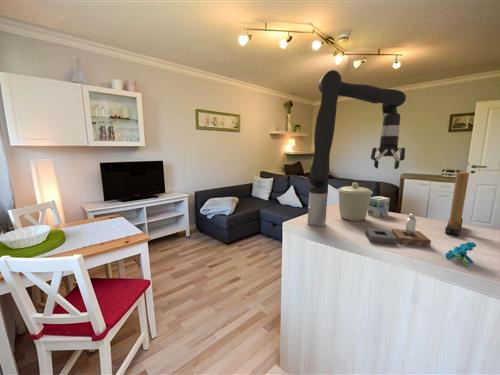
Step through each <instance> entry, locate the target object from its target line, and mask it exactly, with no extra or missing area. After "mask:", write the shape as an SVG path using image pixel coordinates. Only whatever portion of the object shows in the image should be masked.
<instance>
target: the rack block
mask: <svg viewBox="0 0 500 375" xmlns="http://www.w3.org/2000/svg"><path fill="white" fill-rule="evenodd" d="M390 231H391V232H392V233H393V234H394V236H395V237H396V238H397V243H398V245H401V246H402V245H404V246H410V247H411V246H413V247H422V248H431V243H432V240H431V239H430V238H428V237H427V236H426V235H424V234H423V233H422V232H421V231H419V230H415V234H414V237H413V236H405V232H406V229H400V228H399V229H397V228H391V230H390Z"/></svg>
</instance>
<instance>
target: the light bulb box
mask: <svg viewBox="0 0 500 375" xmlns="http://www.w3.org/2000/svg"><path fill="white" fill-rule="evenodd" d="M389 207H390V197H385V196H381V195H379V196H371V198H370V202H369V207H368V211H367V215H368V216H371V217H374V218H380V217H385V216H389V209H390V208H389Z"/></svg>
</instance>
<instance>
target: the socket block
mask: <svg viewBox="0 0 500 375" xmlns="http://www.w3.org/2000/svg"><path fill="white" fill-rule="evenodd" d="M364 232H365V233H364V235H365V236H366V238H367V240H368V242H369V243H370V244H380V245H390V246H397V243H398V242H397V238H396V237H395V236H394V234H393V233H392V232H391V230H390V229H389V230H388V229H379V228H367V227H365V231H364Z"/></svg>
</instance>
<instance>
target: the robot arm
mask: <svg viewBox="0 0 500 375" xmlns="http://www.w3.org/2000/svg"><path fill="white" fill-rule="evenodd" d="M317 87H318V90H319V92H320V93H321V99H320V100H321V101H320V106H319V108H318V109H319V110H318V112H317V116H316V120H315V126H314V132H313V133H314V134H313V136H314V138H313V140H314V142H313V145H314V152H313V159H312V164H311V165H310V168H309V184H308V185H309V186H308V187H309V189H308V190H309V193H308V207H307V208H308V209H307V225H310V226H314V227H324V226H326V222H327V204H328V193H329V192H328V191H329V188H328V187H329V185H328V182H329V181H328V178H329V175H330V158H331V156H330V155H331V149H332V145H333V141H334V136H335V135H334V134H335V127H336V119H337V118H336V116H337V104H338V100H339V97H344V98H345V97H347V98H350V99H354V100H359V101H363V102H366V103H370V104H375V105H377V104H381V109H382V116H383V117H382V118H383V119H382V127H381V130H380V131H381V132H380V139H379V140H380V141H379V146H378V147H372V150H371V154H370V159H371V160H372V161H374V164H373V167H374V168H375V169H379V160H380V159H382V157H392V158H393V159H394V160H395V161H394V170H397V169H398V168H400V167H399V166H400V162H401V161H404V160H405V157H406V156H405V155H406V148H405V147H398V144H399V138H400V124H401V123H400V122H401V114H400V113H399V112H398V107H400V106H402V105H403V104H404V103H405V102H406V99H407V96H406V94H405V93H404V92H403V91H401V90H399V89H391V88H381V87H378V86H374V85H369V84H363V83H359V84H358V83H357V84H356V83H349V82H344V81H342V75H341V74H340V73H339V72H338V71H337V70H335V69H331V70H329V71H327V72H326V73H324V74H323V75H322V76H321V78H320V80H319V82H318V84H317ZM377 152H379V154H378V155H376V153H377ZM397 152H398V153H399V156H398V154H397Z"/></svg>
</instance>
